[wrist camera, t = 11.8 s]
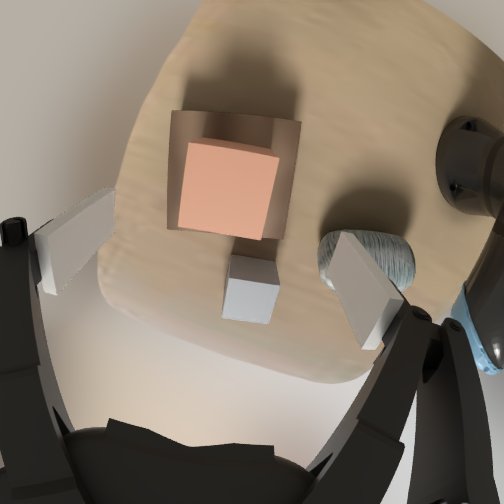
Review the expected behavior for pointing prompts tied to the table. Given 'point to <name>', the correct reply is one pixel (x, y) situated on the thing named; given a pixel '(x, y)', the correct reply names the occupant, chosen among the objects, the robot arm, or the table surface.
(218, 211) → the terracotta cube
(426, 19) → the table surface
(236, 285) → the grey cube
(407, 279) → the yarn skein
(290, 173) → the walnut block
